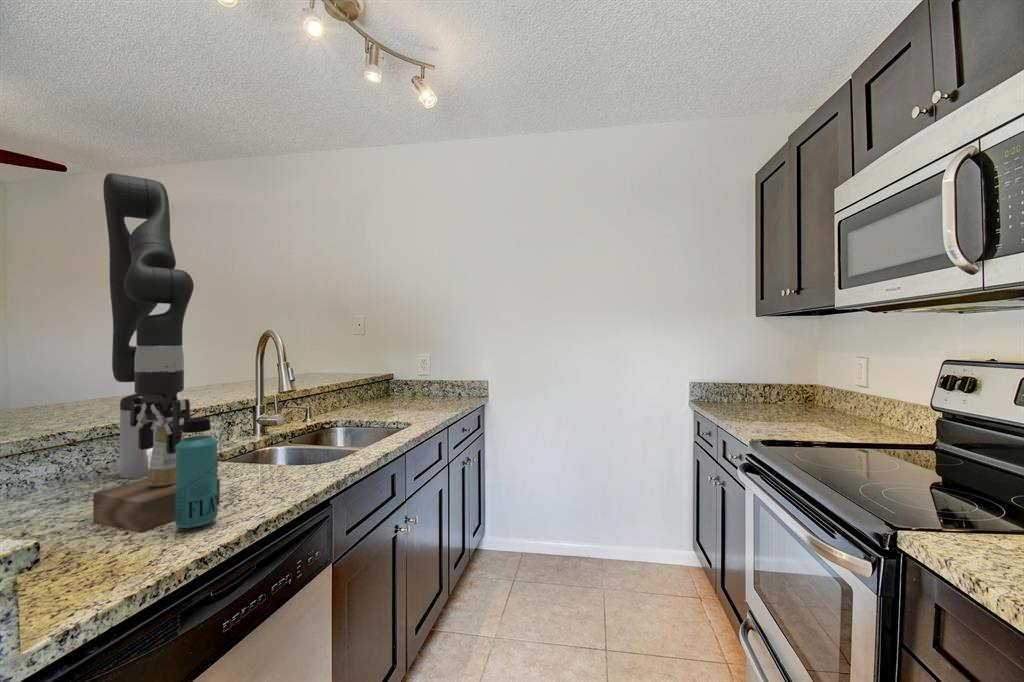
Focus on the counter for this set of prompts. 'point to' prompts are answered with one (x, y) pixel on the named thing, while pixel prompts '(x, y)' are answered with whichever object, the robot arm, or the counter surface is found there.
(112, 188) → the robot arm
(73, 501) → the counter surface
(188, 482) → the beverage bottle
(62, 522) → the counter surface
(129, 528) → the walnut block
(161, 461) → the brown spice jar
